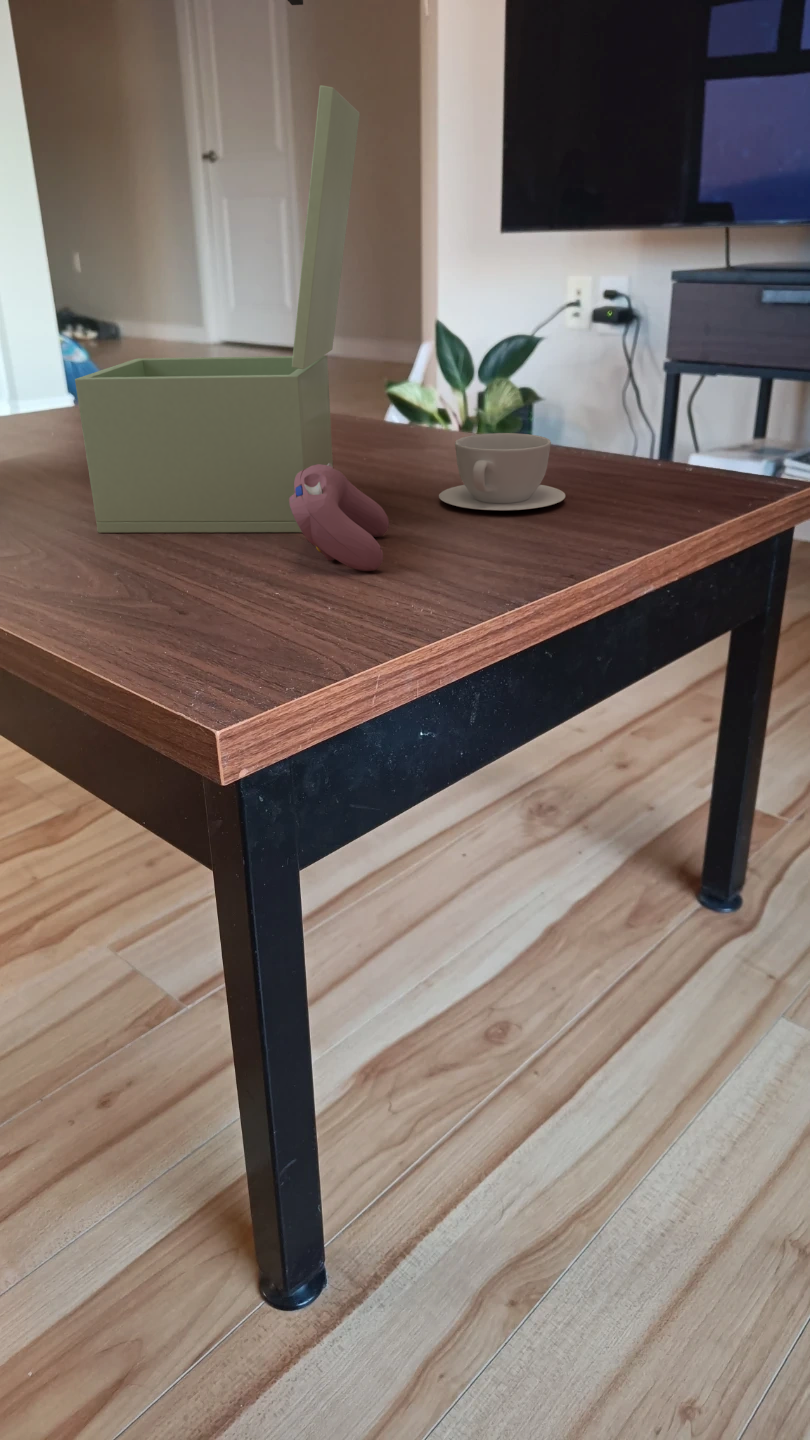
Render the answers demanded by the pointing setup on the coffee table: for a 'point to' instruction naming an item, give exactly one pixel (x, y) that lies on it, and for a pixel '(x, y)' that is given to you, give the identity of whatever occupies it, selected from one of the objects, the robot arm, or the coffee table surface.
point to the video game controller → (338, 517)
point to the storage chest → (202, 442)
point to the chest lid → (325, 226)
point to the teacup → (502, 473)
